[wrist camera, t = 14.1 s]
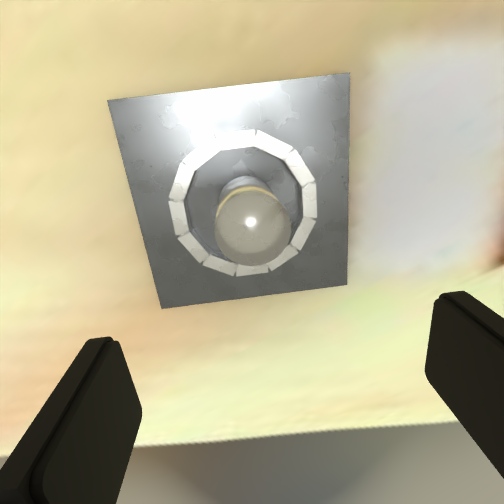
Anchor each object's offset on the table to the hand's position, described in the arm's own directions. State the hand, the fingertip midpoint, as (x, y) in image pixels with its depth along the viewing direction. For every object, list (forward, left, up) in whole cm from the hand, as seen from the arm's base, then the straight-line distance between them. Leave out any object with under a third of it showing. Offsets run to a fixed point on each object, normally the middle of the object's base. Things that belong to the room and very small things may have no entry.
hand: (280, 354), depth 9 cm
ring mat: (0, 0, -20) cm, 20 cm away
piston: (0, 0, -20) cm, 20 cm away
